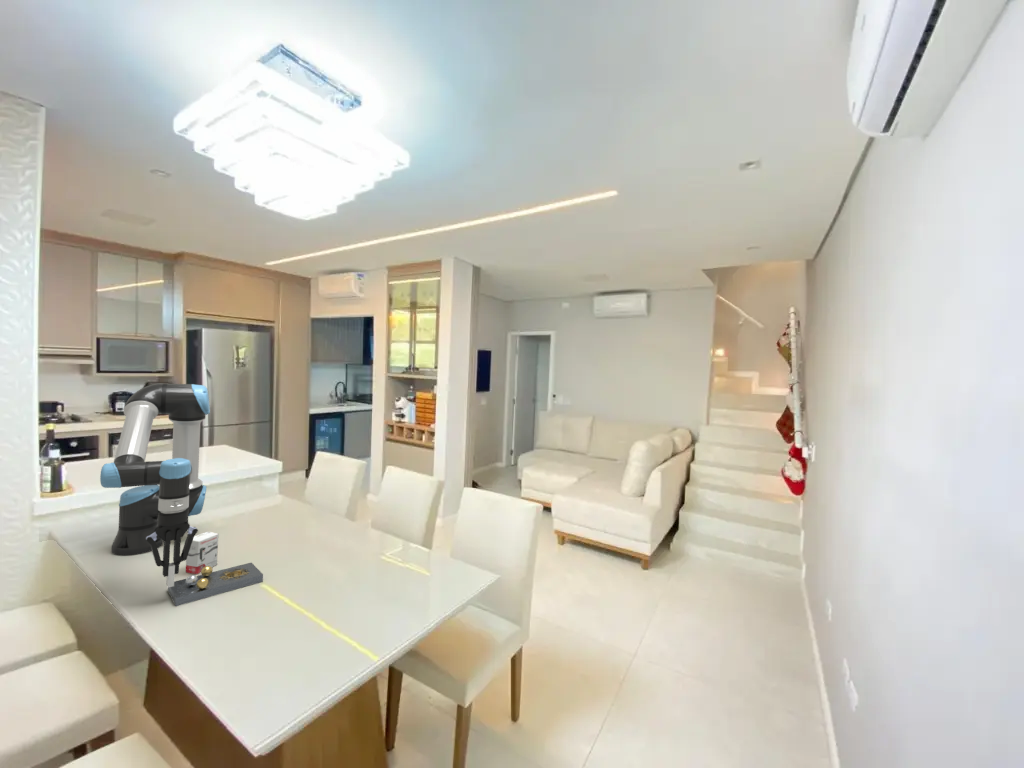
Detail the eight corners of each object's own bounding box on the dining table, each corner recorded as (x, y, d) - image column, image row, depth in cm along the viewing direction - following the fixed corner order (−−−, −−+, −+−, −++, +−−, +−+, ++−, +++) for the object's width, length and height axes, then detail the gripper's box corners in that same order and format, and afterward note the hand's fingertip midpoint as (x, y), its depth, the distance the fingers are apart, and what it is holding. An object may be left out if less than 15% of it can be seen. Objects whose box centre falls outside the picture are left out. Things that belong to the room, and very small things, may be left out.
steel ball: (184, 585, 139) (184, 575, 139) (196, 581, 142) (196, 572, 141) (186, 588, 137) (187, 578, 137) (198, 585, 139) (199, 575, 139)
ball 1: (199, 575, 146) (200, 566, 146) (210, 572, 148) (211, 563, 148) (202, 578, 144) (202, 569, 144) (213, 576, 146) (213, 566, 146)
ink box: (196, 575, 151) (198, 541, 151) (184, 572, 152) (186, 539, 152) (217, 564, 159) (219, 532, 159) (206, 562, 160) (208, 530, 160)
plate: (175, 606, 132) (176, 598, 132) (167, 590, 140) (168, 583, 140) (262, 581, 149) (263, 574, 149) (251, 569, 157) (251, 562, 157)
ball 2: (195, 588, 138) (195, 578, 138) (207, 584, 140) (207, 575, 140) (197, 592, 136) (198, 581, 136) (209, 588, 138) (210, 578, 138)
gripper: (148, 517, 127) (144, 597, 128) (202, 509, 137) (198, 583, 137) (144, 510, 132) (140, 587, 133) (196, 503, 142) (192, 574, 142)
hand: (170, 585), depth 135 cm, fingers closed
